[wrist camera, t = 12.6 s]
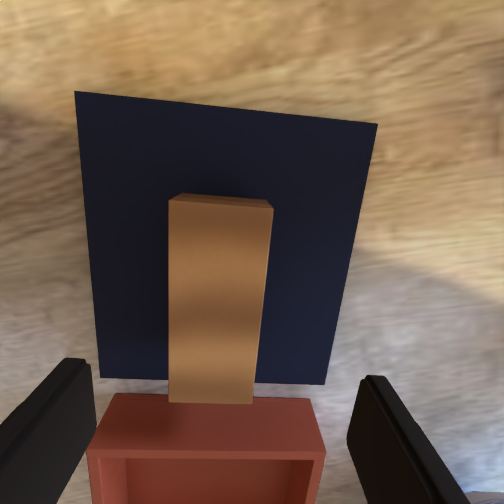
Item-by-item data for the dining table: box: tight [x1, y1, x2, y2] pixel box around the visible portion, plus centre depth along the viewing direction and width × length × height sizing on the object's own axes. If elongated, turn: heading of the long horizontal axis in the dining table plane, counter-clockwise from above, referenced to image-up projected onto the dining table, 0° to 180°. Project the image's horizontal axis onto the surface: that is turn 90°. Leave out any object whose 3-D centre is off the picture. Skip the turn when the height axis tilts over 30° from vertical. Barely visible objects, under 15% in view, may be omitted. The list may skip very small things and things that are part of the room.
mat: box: [74, 91, 378, 385], centre depth 20 cm, size 20×18×1 cm
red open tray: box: [86, 393, 326, 504], centre depth 24 cm, size 18×17×5 cm
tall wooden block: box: [168, 193, 274, 404], centre depth 17 cm, size 12×5×5 cm, turn 175°
